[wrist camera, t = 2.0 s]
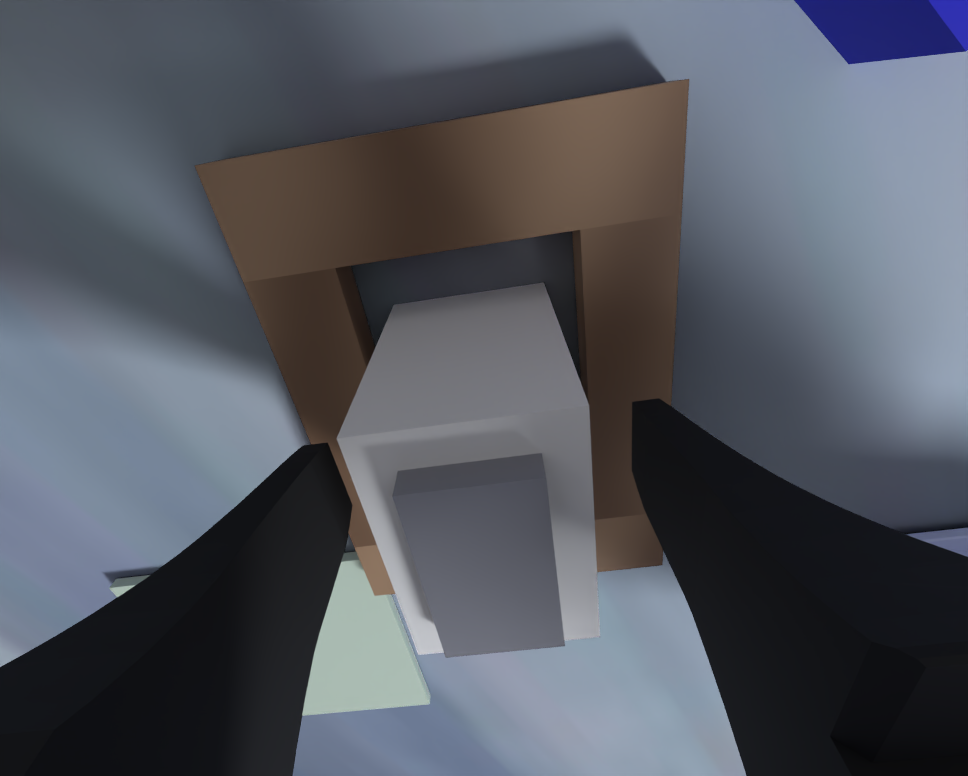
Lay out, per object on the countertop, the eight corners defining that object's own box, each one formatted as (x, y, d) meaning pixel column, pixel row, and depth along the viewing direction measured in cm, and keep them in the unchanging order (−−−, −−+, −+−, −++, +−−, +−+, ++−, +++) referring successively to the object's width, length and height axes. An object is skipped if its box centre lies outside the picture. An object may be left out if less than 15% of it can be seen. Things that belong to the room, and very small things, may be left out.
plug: (543, 281, 13) (597, 427, 7) (559, 460, 16) (606, 664, 10) (394, 304, 13) (326, 462, 7) (438, 475, 16) (415, 682, 10)
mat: (373, 549, 17) (371, 558, 17) (430, 694, 22) (429, 703, 22) (116, 578, 18) (108, 588, 18) (227, 713, 23) (223, 722, 23)
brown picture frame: (668, 81, 10) (689, 78, 9) (651, 537, 17) (662, 564, 16) (221, 159, 11) (194, 166, 10) (380, 567, 18) (374, 596, 17)
